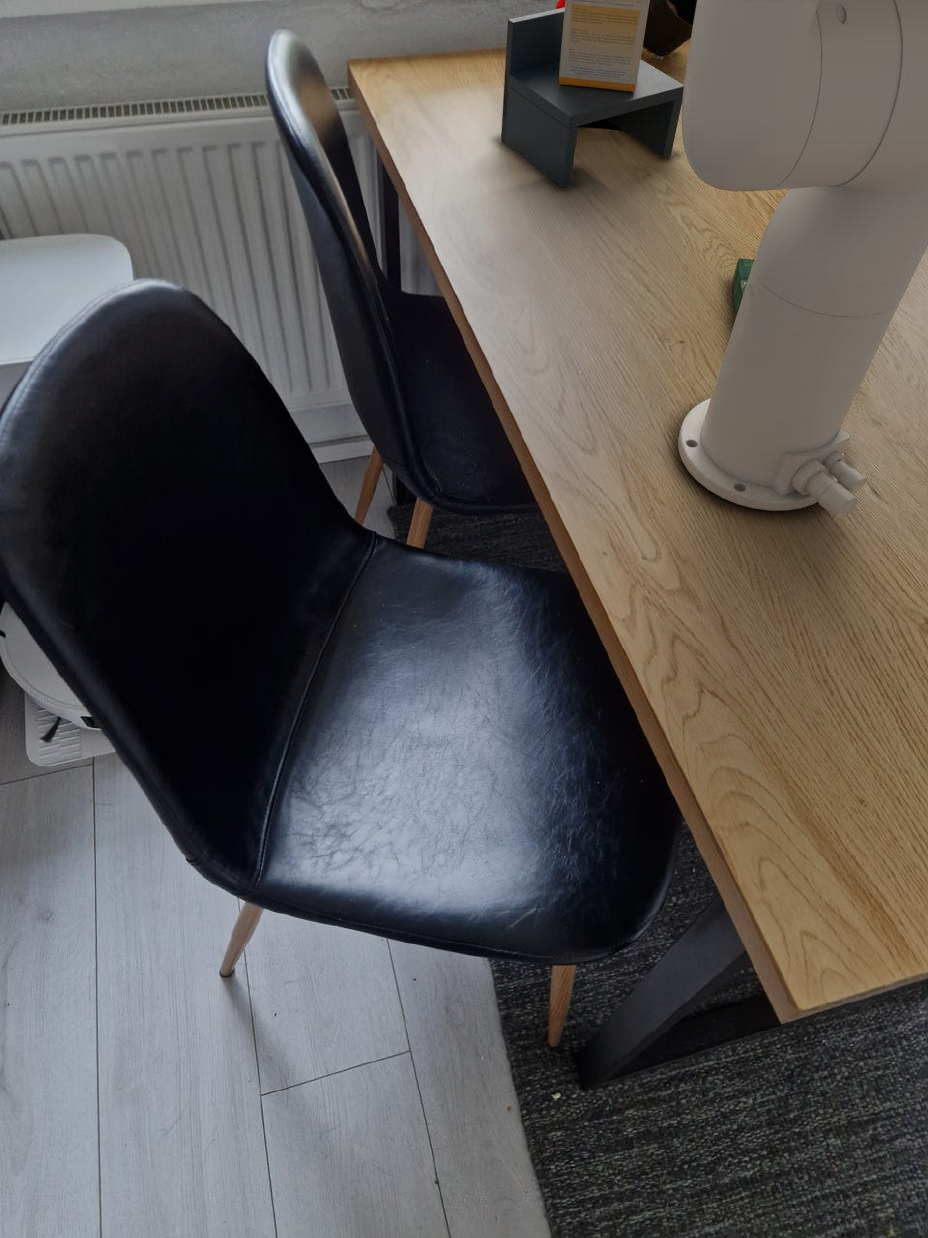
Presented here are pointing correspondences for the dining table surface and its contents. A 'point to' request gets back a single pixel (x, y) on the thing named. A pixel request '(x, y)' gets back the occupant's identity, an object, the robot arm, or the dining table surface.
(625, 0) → the supplement box
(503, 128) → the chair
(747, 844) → the dining table surface
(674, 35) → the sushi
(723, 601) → the dining table surface
